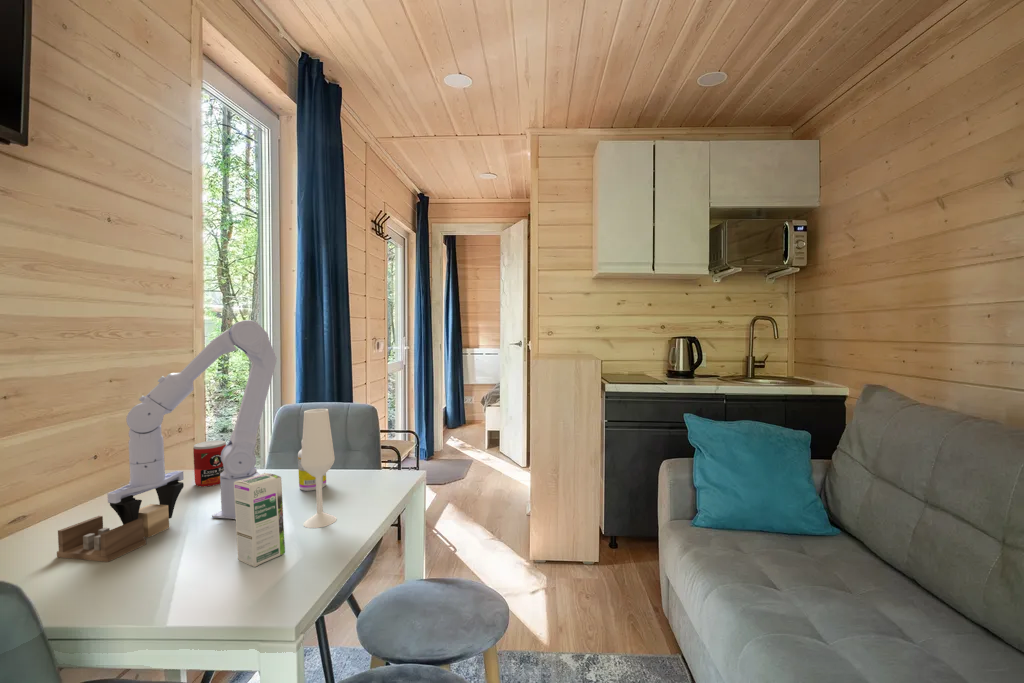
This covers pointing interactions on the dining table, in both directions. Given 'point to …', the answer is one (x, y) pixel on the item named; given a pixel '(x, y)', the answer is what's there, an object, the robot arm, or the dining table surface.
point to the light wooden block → (154, 518)
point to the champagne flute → (317, 458)
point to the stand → (99, 540)
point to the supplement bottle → (307, 477)
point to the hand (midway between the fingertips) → (149, 525)
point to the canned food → (208, 462)
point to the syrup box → (259, 518)
